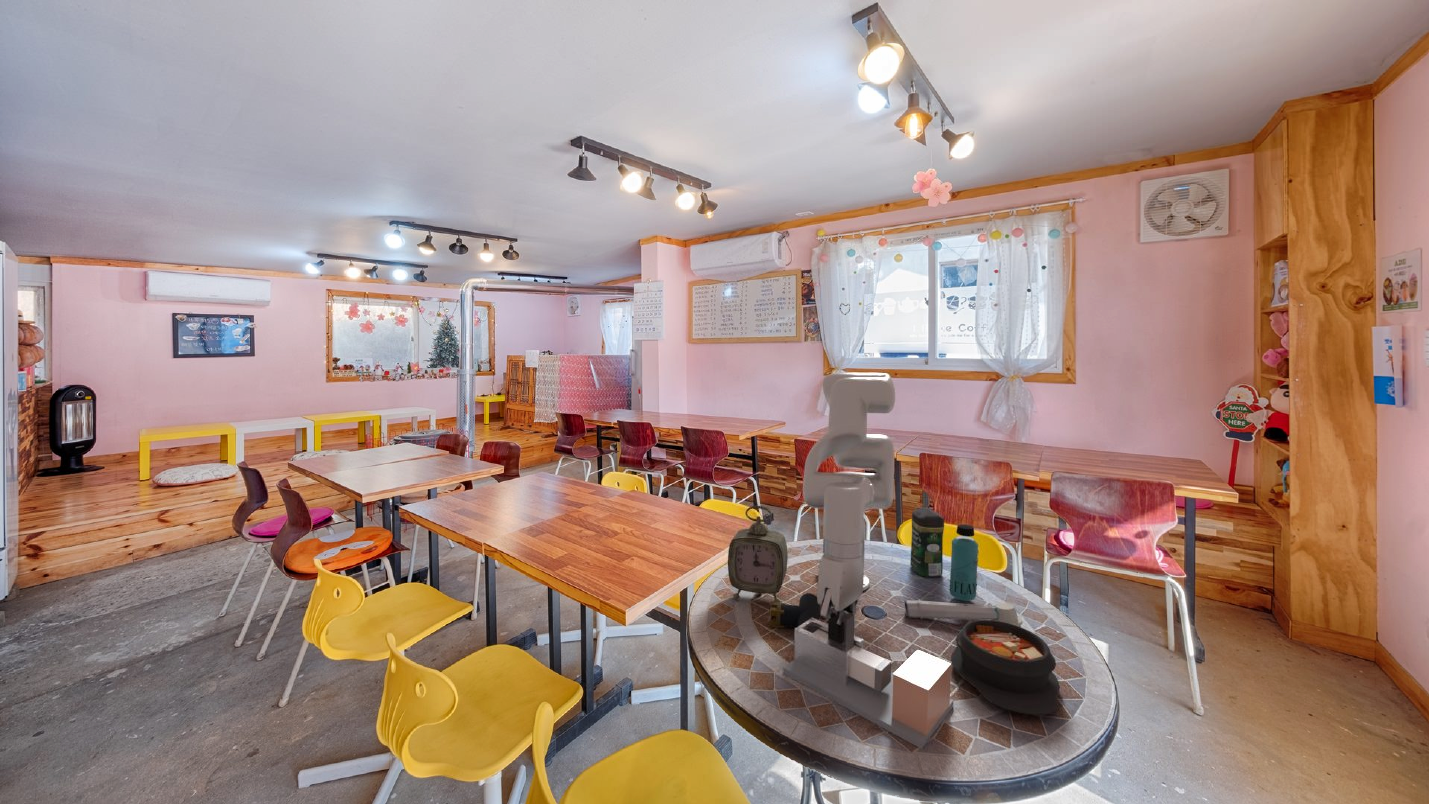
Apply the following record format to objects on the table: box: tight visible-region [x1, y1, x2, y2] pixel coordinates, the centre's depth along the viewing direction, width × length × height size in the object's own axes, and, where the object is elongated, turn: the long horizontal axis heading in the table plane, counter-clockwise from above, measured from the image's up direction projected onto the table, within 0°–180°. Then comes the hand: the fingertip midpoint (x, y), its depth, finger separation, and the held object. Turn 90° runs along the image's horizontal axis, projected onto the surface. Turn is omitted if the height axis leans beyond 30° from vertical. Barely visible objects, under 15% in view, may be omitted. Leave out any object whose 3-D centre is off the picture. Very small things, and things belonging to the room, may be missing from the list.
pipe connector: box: [769, 592, 821, 629], centre depth 119 cm, size 12×5×15 cm
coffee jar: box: [909, 507, 945, 578], centre depth 148 cm, size 10×8×19 cm
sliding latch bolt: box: [813, 610, 892, 692], centre depth 98 cm, size 16×4×11 cm, turn 45°
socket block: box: [892, 649, 952, 736], centre depth 88 cm, size 6×10×8 cm, turn 135°
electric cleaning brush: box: [904, 598, 1024, 628], centre depth 120 cm, size 5×7×25 cm
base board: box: [782, 659, 954, 750], centre depth 97 cm, size 28×14×1 cm, turn 45°
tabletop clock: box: [727, 505, 789, 603], centre depth 132 cm, size 14×9×25 cm, turn 73°
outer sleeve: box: [793, 618, 864, 686], centre depth 102 cm, size 12×6×7 cm, turn 45°
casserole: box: [950, 619, 1061, 716], centre depth 99 cm, size 25×19×8 cm
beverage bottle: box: [948, 523, 979, 602], centre depth 130 cm, size 6×7×20 cm
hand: (841, 635), depth 99 cm, fingers closed on sliding latch bolt, 3 cm apart
